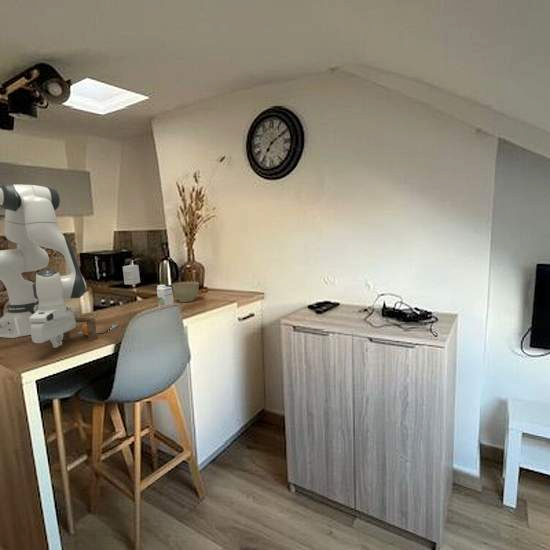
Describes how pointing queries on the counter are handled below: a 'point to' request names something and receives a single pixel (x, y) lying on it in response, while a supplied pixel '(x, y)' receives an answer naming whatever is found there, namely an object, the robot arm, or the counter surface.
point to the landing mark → (108, 330)
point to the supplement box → (131, 274)
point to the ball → (84, 329)
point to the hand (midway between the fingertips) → (57, 346)
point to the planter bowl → (185, 291)
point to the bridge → (90, 328)
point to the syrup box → (164, 296)
